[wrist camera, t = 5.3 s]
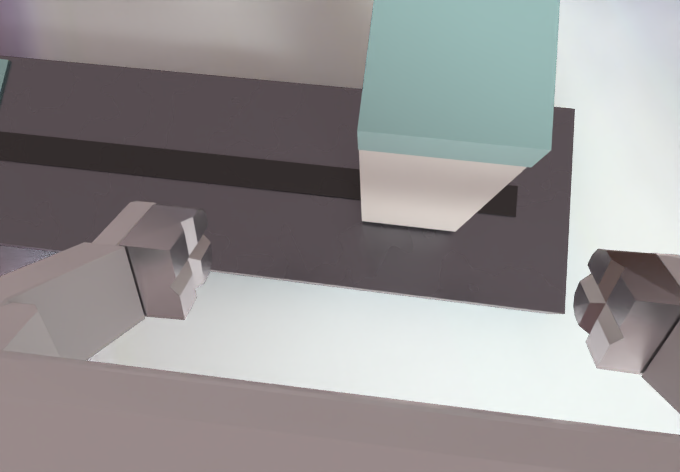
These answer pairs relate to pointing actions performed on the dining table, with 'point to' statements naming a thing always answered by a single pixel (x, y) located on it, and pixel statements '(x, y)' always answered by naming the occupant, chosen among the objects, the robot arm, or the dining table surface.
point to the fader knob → (453, 105)
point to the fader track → (261, 183)
